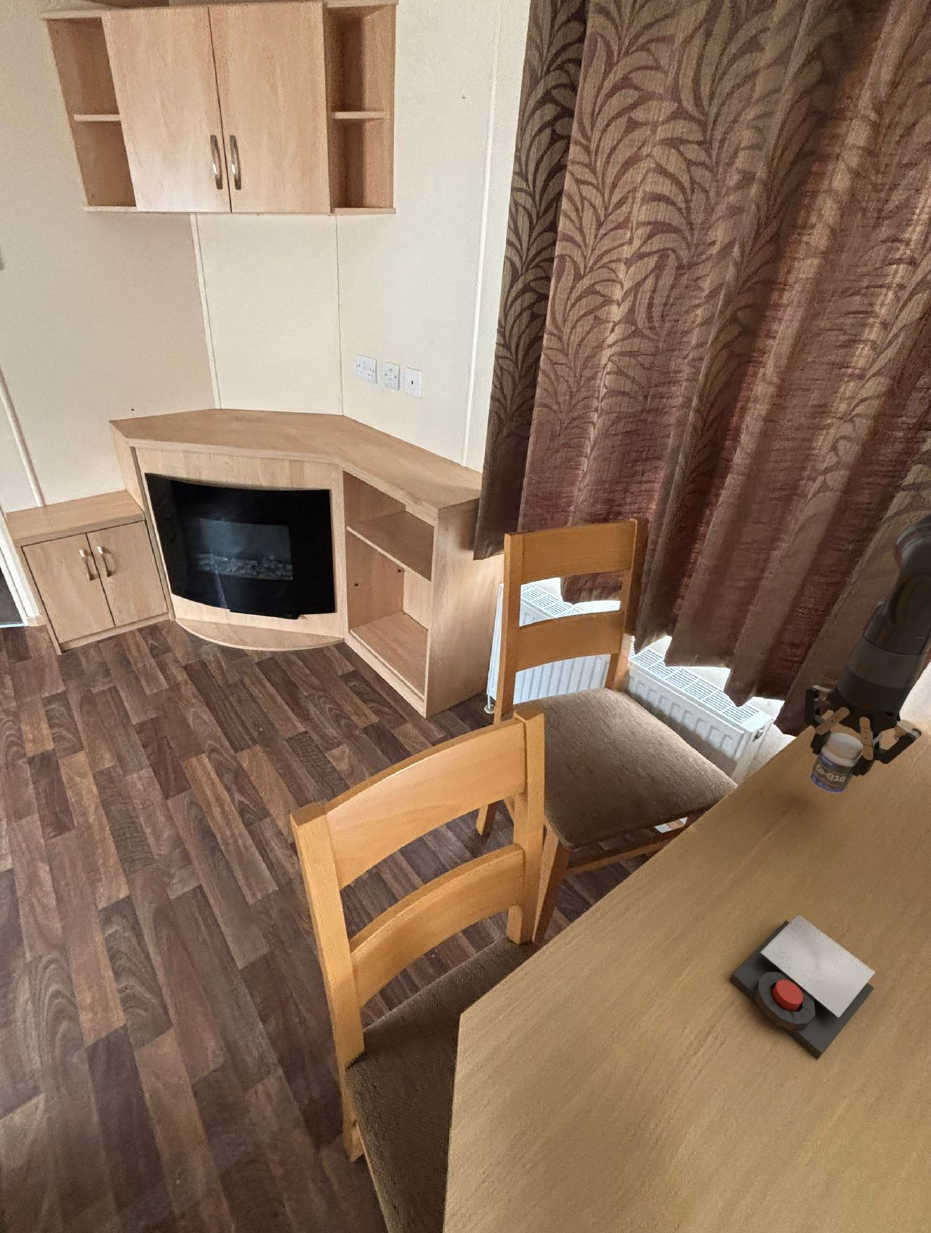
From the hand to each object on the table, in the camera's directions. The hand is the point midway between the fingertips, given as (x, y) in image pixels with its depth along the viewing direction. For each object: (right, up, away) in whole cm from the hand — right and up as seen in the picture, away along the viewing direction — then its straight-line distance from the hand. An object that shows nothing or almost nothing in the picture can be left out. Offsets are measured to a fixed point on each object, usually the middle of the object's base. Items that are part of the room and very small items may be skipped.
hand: (836, 761), depth 90 cm
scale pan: (-16, -19, -19) cm, 31 cm away
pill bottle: (0, -4, +2) cm, 5 cm away
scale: (-18, -22, -18) cm, 34 cm away
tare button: (-22, -21, -22) cm, 37 cm away
